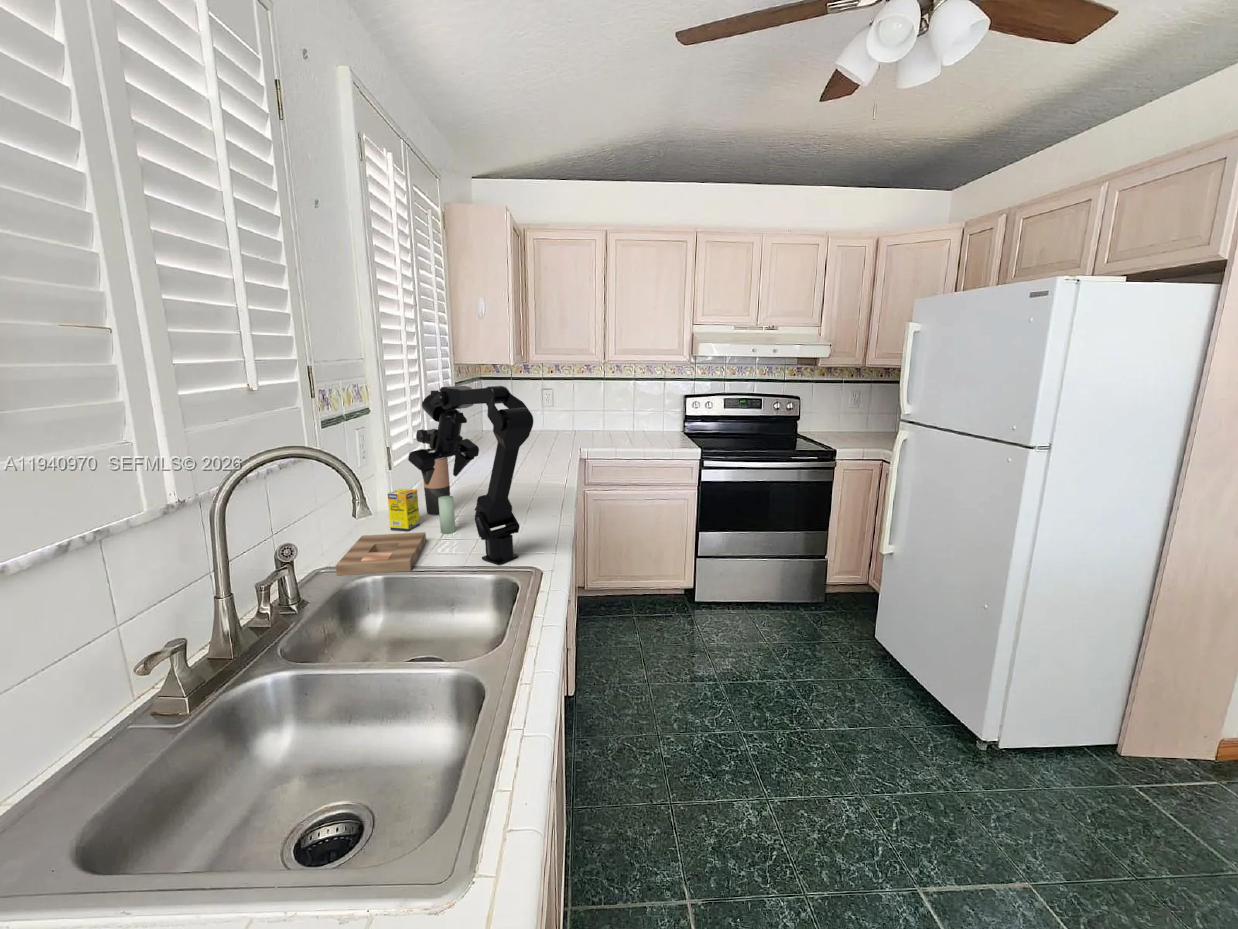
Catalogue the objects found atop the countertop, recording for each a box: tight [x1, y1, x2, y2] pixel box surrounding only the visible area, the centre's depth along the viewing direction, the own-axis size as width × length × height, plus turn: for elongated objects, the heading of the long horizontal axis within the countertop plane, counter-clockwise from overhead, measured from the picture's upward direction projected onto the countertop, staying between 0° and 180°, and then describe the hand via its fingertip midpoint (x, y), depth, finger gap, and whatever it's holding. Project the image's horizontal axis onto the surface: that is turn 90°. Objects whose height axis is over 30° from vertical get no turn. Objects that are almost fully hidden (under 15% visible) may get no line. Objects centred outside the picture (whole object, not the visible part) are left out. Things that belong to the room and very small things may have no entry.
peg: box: [438, 495, 456, 535], centre depth 149 cm, size 4×4×10 cm
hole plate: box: [335, 531, 427, 577], centre depth 132 cm, size 20×16×3 cm
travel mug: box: [423, 448, 451, 516], centre depth 166 cm, size 8×8×20 cm
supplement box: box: [387, 488, 421, 532], centre depth 153 cm, size 6×6×11 cm
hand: (440, 479), depth 146 cm, fingers open, 9 cm apart
